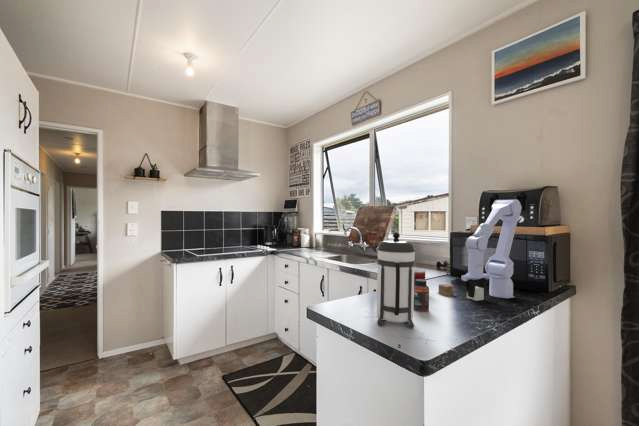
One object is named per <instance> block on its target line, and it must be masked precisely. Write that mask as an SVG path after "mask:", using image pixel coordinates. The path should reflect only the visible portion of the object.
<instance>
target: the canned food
mask: <svg viewBox="0 0 639 426" xmlns="http://www.w3.org/2000/svg"><path fill="white" fill-rule="evenodd" d="M416 279H424V280H426V270H425V269H421V268H414V285H415V284H416V283H415V280H416Z"/></svg>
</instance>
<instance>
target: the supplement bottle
mask: <svg viewBox="0 0 639 426" xmlns="http://www.w3.org/2000/svg"><path fill="white" fill-rule="evenodd" d="M415 283H416V284H415V285H414V310H413V311H417V312H425V313H426V312H429V310H430V287H429V286H428V285H427V280H426V279H425V280H424V279H416V280H415Z"/></svg>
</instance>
